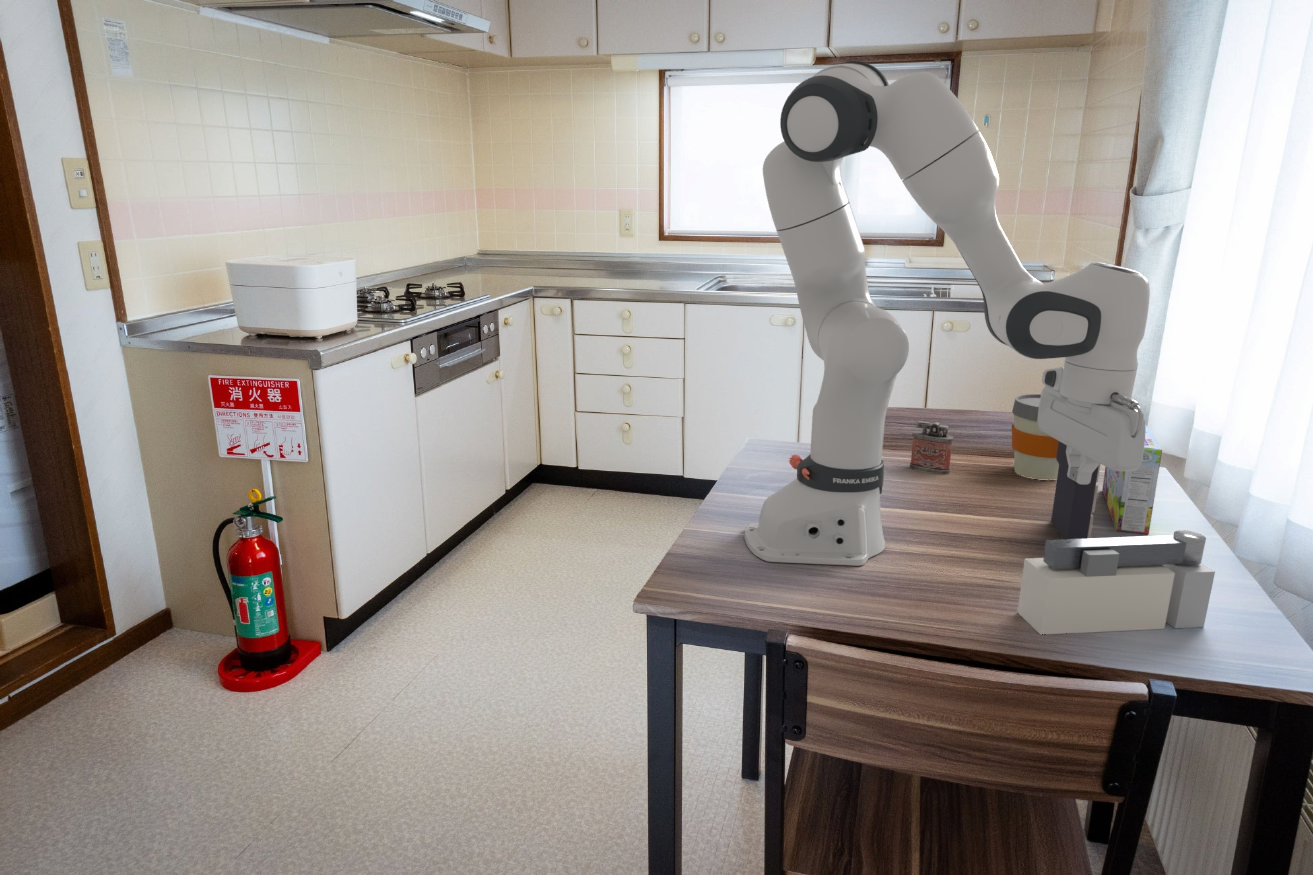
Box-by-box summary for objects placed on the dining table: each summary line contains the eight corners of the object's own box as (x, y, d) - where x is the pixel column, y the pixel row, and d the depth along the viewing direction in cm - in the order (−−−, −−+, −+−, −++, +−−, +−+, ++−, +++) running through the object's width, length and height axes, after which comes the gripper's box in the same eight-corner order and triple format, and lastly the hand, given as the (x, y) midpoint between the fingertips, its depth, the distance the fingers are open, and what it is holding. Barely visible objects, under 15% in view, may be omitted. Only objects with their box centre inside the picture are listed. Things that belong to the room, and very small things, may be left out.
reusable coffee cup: (1004, 460, 180) (1013, 391, 176) (1070, 467, 176) (1081, 396, 172) (1004, 479, 169) (1013, 405, 165) (1074, 487, 165) (1086, 411, 160)
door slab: (1040, 634, 111) (1051, 556, 108) (1017, 612, 117) (1027, 537, 113) (1164, 628, 112) (1179, 551, 109) (1135, 607, 118) (1148, 533, 115)
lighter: (951, 471, 174) (956, 423, 171) (947, 475, 171) (952, 427, 168) (912, 464, 178) (916, 418, 175) (907, 468, 175) (911, 421, 172)
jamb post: (1175, 628, 112) (1185, 572, 110) (1146, 606, 118) (1155, 553, 116) (1203, 626, 113) (1215, 571, 111) (1173, 605, 119) (1183, 552, 116)
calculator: (1091, 547, 137) (1105, 459, 133) (1062, 545, 138) (1075, 457, 134) (1073, 522, 148) (1086, 439, 143) (1047, 520, 148) (1058, 437, 144)
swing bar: (1188, 553, 115) (1193, 529, 114) (1207, 564, 112) (1212, 540, 111) (1040, 559, 113) (1044, 535, 112) (1055, 571, 110) (1059, 546, 109)
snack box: (1098, 490, 163) (1110, 414, 159) (1131, 494, 161) (1144, 416, 157) (1113, 531, 144) (1127, 445, 140) (1151, 536, 142) (1166, 449, 138)
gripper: (1168, 404, 107) (1145, 508, 111) (1077, 370, 127) (1061, 459, 130) (1120, 403, 106) (1099, 507, 110) (1036, 369, 126) (1021, 458, 130)
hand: (1078, 481), depth 121 cm, fingers closed
